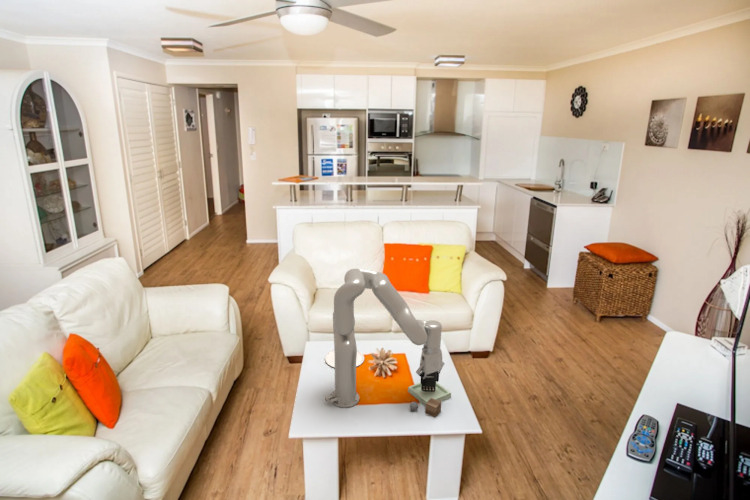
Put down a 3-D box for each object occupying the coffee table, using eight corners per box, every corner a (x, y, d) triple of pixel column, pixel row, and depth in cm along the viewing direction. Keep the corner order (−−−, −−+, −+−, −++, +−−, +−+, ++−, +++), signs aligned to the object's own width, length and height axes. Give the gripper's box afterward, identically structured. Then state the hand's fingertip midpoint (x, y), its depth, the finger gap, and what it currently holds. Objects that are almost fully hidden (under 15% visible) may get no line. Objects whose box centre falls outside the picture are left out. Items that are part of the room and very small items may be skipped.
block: (435, 417, 190) (435, 407, 188) (425, 413, 193) (425, 403, 191) (440, 411, 194) (441, 402, 192) (430, 407, 196) (431, 397, 195)
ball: (412, 413, 192) (413, 406, 191) (407, 408, 195) (408, 401, 194) (419, 410, 194) (419, 403, 193) (414, 406, 197) (414, 399, 196)
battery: (421, 392, 203) (422, 371, 200) (420, 387, 207) (422, 366, 203) (436, 393, 203) (438, 371, 200) (435, 388, 207) (437, 367, 203)
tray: (427, 407, 196) (427, 402, 196) (408, 391, 208) (408, 386, 207) (450, 397, 204) (451, 392, 203) (431, 382, 215) (431, 378, 214)
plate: (317, 365, 229) (317, 363, 229) (336, 347, 248) (336, 345, 247) (354, 374, 222) (354, 372, 221) (370, 354, 240) (370, 352, 240)
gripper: (421, 356, 191) (419, 392, 196) (451, 346, 200) (449, 381, 205) (411, 349, 197) (409, 384, 202) (440, 339, 206) (438, 373, 211)
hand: (429, 382), depth 204 cm, fingers closed on battery, 6 cm apart
